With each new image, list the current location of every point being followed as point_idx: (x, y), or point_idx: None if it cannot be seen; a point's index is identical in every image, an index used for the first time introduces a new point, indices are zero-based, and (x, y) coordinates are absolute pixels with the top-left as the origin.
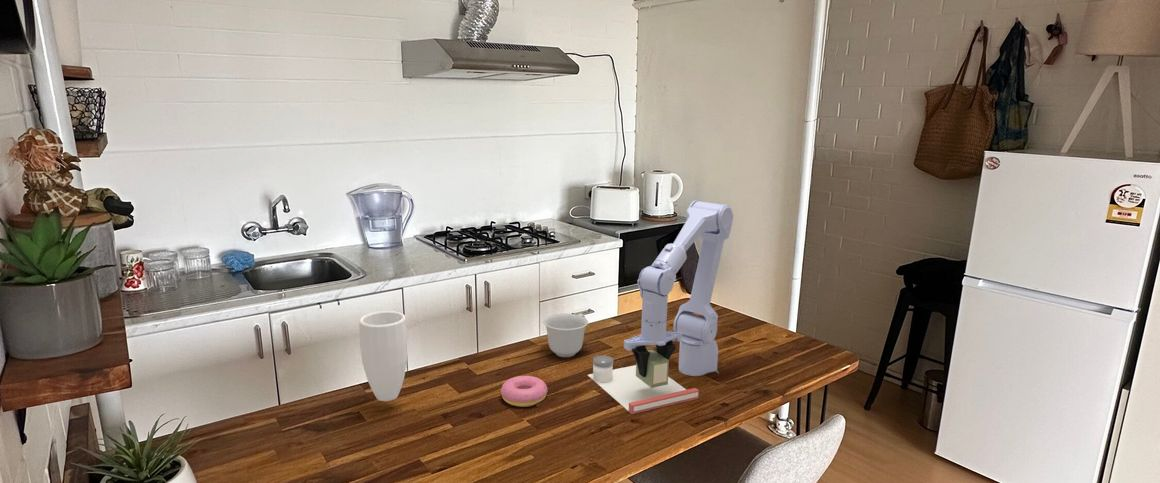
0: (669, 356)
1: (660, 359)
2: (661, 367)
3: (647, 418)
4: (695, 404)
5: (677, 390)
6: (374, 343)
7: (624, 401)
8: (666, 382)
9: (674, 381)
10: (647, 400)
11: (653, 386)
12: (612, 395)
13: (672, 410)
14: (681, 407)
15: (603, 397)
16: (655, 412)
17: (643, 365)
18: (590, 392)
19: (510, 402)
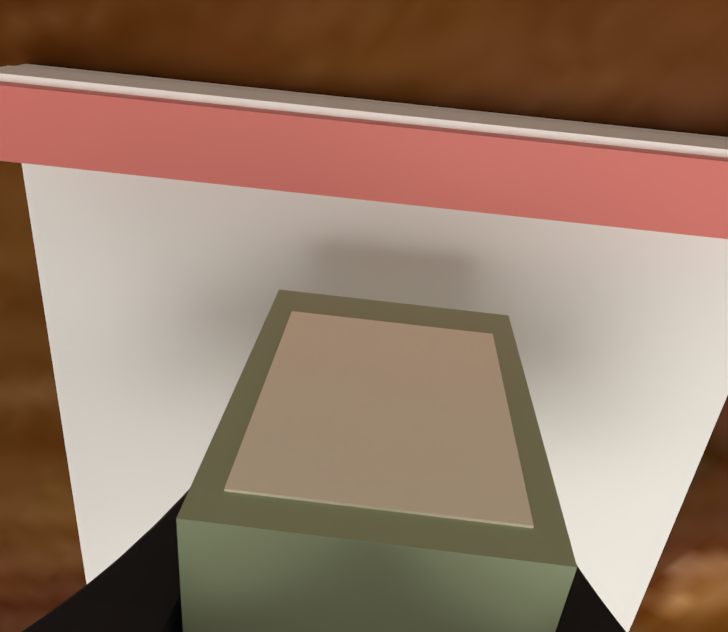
0: (75, 612)
1: (306, 610)
2: (364, 455)
3: (703, 46)
4: (85, 28)
5: (125, 297)
6: None
7: (677, 373)
8: (292, 305)
9: (66, 423)
10: (641, 192)
11: (480, 320)
12: (675, 489)
13: (371, 49)
14: (251, 53)
15: (703, 513)
16: (543, 106)
17: (614, 618)
18: (717, 599)
19: None
